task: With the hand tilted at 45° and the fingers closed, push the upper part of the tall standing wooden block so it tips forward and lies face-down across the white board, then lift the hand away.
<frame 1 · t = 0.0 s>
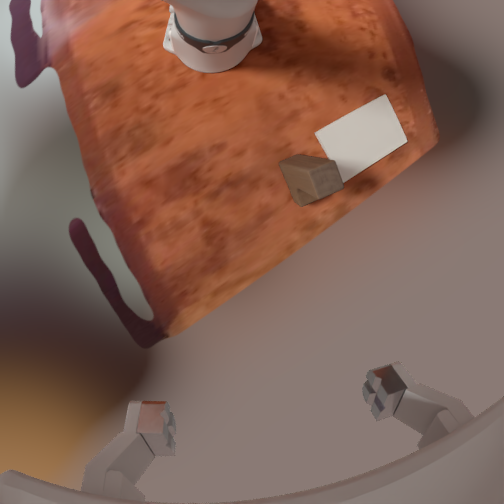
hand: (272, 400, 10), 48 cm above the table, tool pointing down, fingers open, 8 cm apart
white board: (364, 136, 54), on the table
wooden block: (296, 178, 56), on the table
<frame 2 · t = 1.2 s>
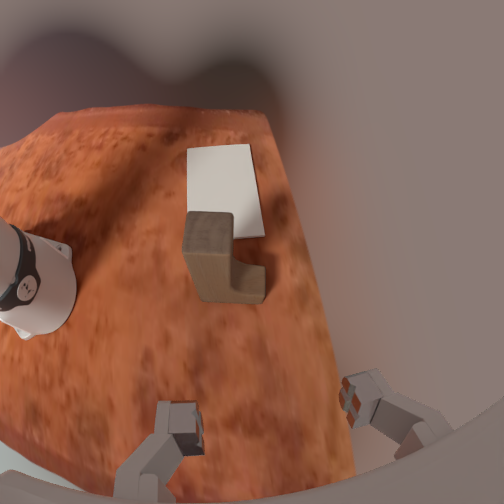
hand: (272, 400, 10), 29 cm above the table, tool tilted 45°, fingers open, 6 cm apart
white board: (221, 188, 49), on the table
wooden block: (232, 289, 42), on the table
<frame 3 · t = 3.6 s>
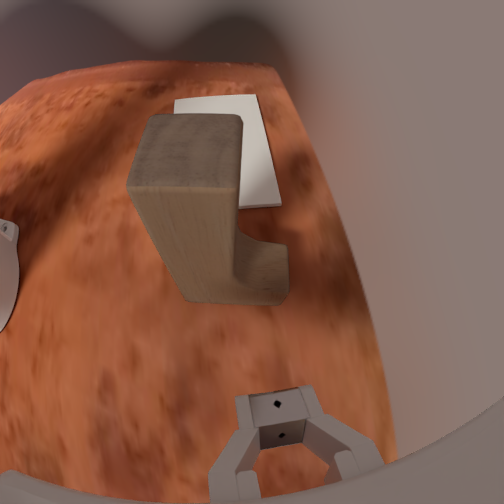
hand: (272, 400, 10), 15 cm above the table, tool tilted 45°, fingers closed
white board: (219, 143, 34), on the table
wooden block: (233, 282, 28), on the table
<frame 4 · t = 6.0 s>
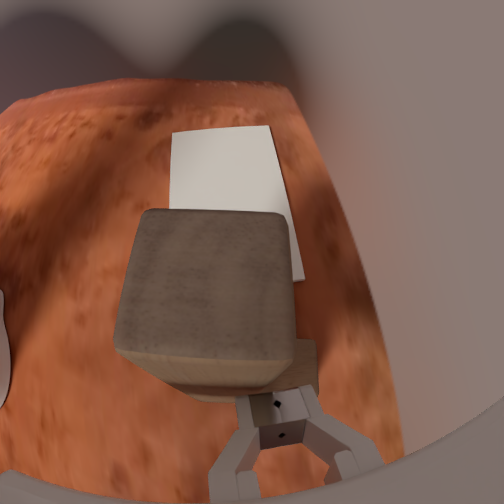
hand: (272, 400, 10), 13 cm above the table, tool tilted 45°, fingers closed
white board: (227, 195, 30), on the table
wooden block: (251, 378, 22), on the table
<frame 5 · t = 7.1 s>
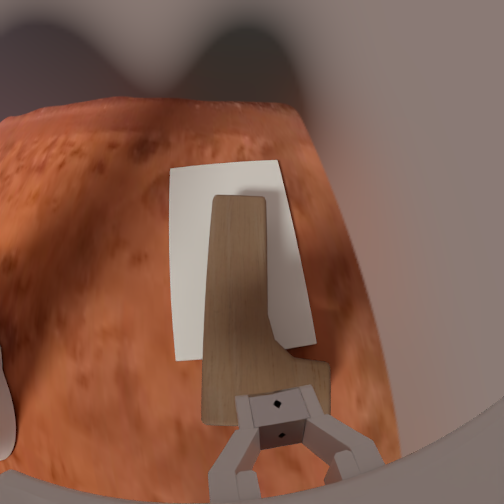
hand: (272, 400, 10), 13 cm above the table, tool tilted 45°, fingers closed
white board: (233, 247, 27), on the table
wooden block: (264, 424, 19), point 3 cm above the table, touching white board
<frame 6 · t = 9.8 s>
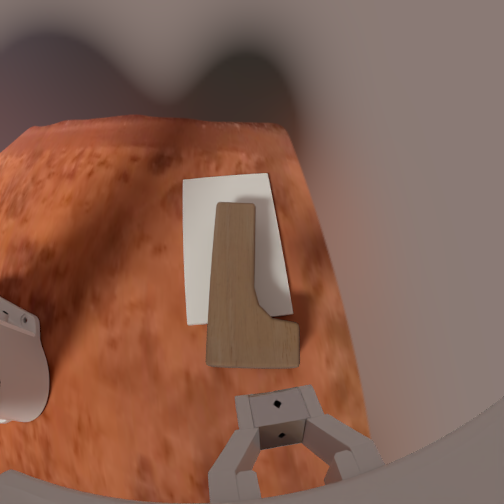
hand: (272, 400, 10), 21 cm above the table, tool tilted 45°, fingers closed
white board: (231, 241, 36), on the table
wooden block: (251, 370, 27), point 3 cm above the table, touching white board
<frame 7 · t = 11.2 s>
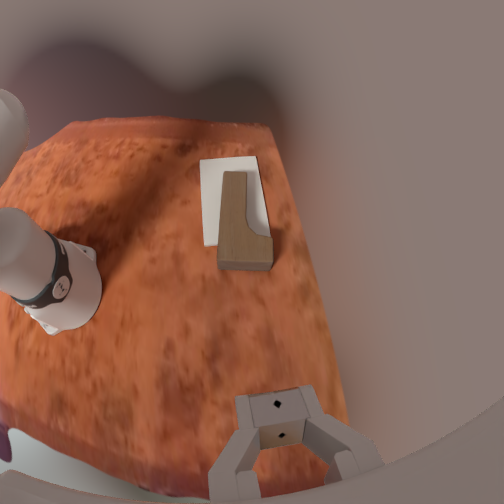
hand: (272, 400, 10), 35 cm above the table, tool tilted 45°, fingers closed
white board: (232, 197, 56), on the table
wooden block: (244, 267, 47), point 3 cm above the table, touching white board
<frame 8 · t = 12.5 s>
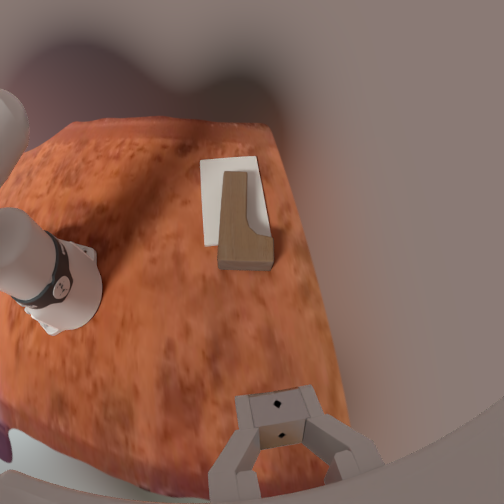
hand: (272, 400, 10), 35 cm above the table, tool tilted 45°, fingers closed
white board: (232, 197, 56), on the table
wooden block: (245, 267, 47), point 3 cm above the table, touching white board
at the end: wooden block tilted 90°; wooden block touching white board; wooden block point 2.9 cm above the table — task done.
